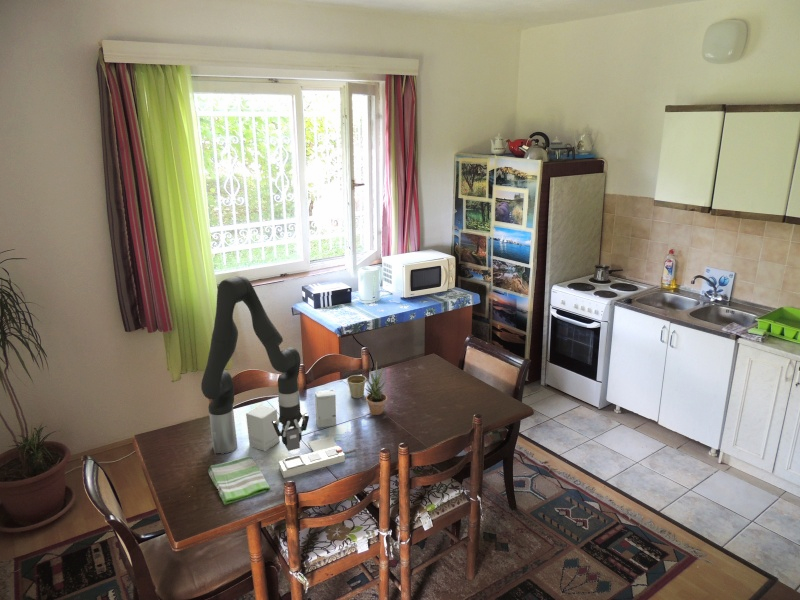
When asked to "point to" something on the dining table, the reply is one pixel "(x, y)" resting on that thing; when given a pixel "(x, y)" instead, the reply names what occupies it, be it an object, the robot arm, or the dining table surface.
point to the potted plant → (376, 395)
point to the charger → (292, 438)
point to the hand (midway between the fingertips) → (292, 442)
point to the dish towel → (238, 479)
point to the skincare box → (325, 408)
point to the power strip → (312, 461)
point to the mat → (322, 444)
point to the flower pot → (356, 385)
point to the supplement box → (262, 427)
